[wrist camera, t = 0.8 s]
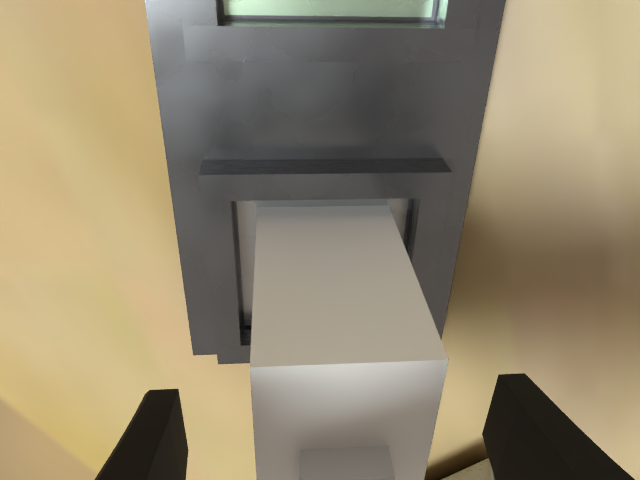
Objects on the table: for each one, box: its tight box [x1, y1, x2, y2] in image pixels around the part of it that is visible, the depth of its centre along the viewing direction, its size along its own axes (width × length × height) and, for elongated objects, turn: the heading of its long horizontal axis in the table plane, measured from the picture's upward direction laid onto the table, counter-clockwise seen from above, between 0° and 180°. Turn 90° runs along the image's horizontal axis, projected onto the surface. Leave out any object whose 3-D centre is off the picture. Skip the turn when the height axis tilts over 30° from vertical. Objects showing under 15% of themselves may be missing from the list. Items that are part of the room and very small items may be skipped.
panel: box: [145, 0, 506, 364], centre depth 15 cm, size 9×18×2 cm, turn 179°
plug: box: [250, 205, 449, 480], centre depth 14 cm, size 4×4×7 cm
